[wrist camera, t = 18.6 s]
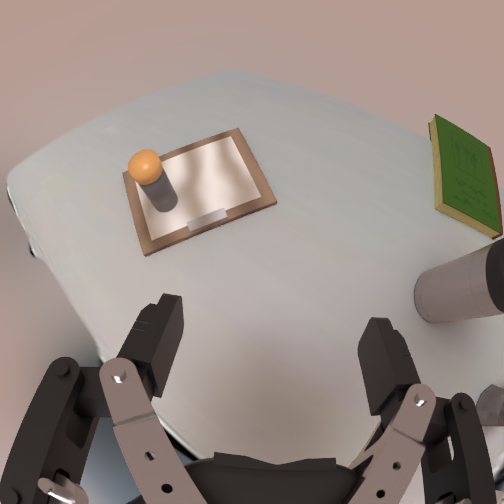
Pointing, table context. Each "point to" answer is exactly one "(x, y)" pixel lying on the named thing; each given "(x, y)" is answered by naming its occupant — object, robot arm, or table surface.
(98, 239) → the table surface
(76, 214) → the table surface
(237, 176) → the clipboard
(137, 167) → the orange and grey cylinder
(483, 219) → the hardcover book
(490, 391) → the coffeepot
